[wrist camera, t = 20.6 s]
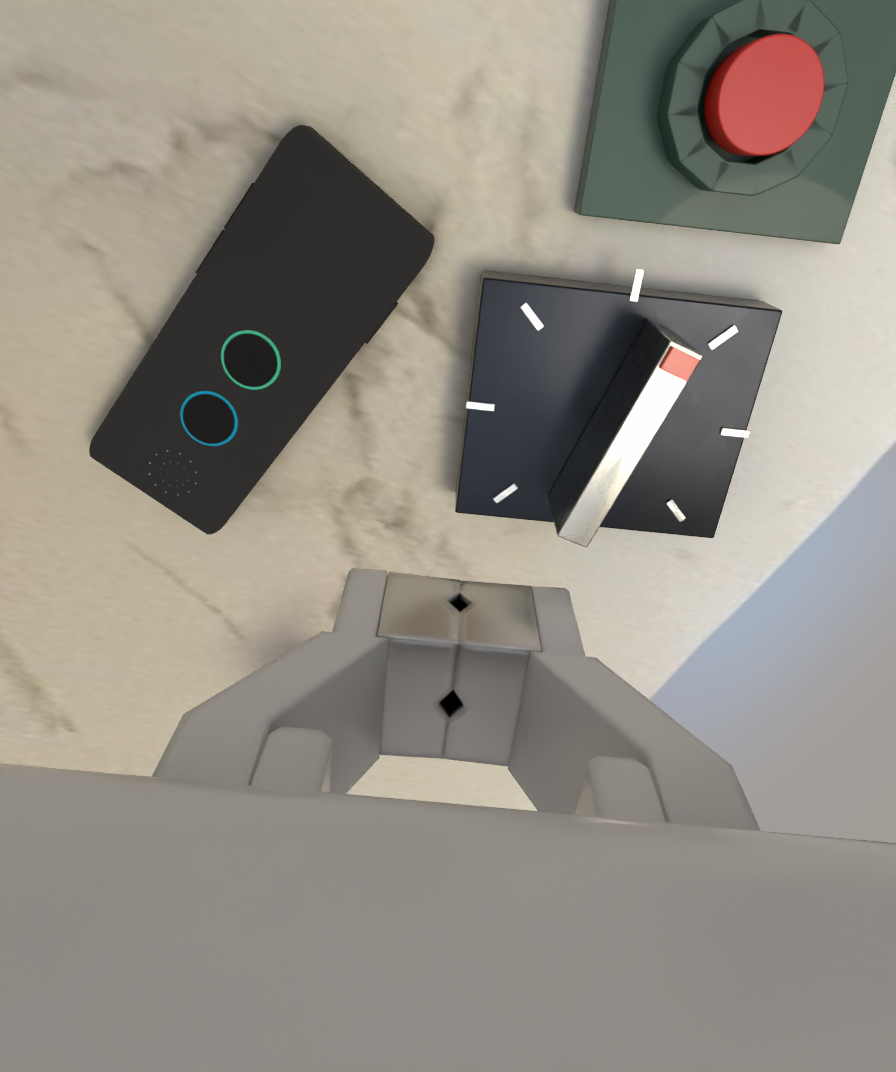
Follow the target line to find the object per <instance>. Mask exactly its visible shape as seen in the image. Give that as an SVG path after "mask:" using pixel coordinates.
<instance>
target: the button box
mask: <svg viewBox="0 0 896 1072" xmlns="http://www.w3.org/2000/svg"><path fill="white" fill-rule="evenodd" d="M773 34H789V35H794V36H796V37H799V38H801V39H802V40H804V41H806V42H807V43H808V44H809V45H810V46H811V47H812V48H813V49H814V50H815V52H816V53H817V55H818V57H819V59H820V61H821V64H822V68H823V72H824V94H823V99H822V103H821V106H820V109H819V111H818V113H817V115H816V118H815V119H814V121H813V123H812V124H811V126H810V127H809V128H808V130H807V131H806V132H805V133H804V134H803V136H802V137H801V138H800V139H798V140H797V141H796V142H795V143H794V144H792V145H791V146H789V147H788V148H786V149H784V150H782V151H780V152H777V153H774V154H770V155H762V156H744V155H736V154H733V153H730V152H728V151H726V150H724V149H723V148H721V147H720V146H719V145H718V144H717V143H716V142H715V141H714V139H713V138H712V136H711V135H710V133H709V131H708V128H707V125H706V121H705V114H704V103H705V96H706V92H707V88H708V85H709V83H710V80H711V78H712V76H713V74H714V72H715V71H716V69H717V68H718V66H719V65H720V64H721V63H722V61H723V60H724V59H725V58H726V57H727V56H728V55H729V54H731V53H732V52H733V51H735V50H736V49H738V48H739V47H741V46H743V45H745V44H748V43H750V42H753V41H755V40H758V39H760V38H763V37H765V36H769V35H773ZM895 73H896V0H610V2H609V8H608V14H607V20H606V26H605V32H604V38H603V44H602V50H601V56H600V62H599V68H598V74H597V80H596V86H595V92H594V98H593V104H592V110H591V116H590V122H589V128H588V134H587V140H586V146H585V152H584V158H583V164H582V170H581V176H580V182H579V188H578V194H577V200H576V206H575V212H576V213H577V214H579V215H585V216H594V217H603V218H612V219H620V220H629V221H638V222H647V223H656V224H665V225H673V226H682V227H691V228H700V229H709V230H718V231H726V232H735V233H744V234H753V235H762V236H770V237H779V238H788V239H797V240H806V241H815V242H823V243H832V244H840V242H841V239H842V236H843V233H844V230H845V227H846V224H847V221H848V218H849V215H850V212H851V209H852V205H853V202H854V199H855V196H856V193H857V190H858V187H859V184H860V181H861V178H862V175H863V172H864V169H865V166H866V162H867V159H868V156H869V153H870V150H871V147H872V144H873V141H874V138H875V135H876V132H877V129H878V126H879V123H880V119H881V116H882V113H883V110H884V107H885V104H886V101H887V98H888V95H889V92H890V89H891V86H892V83H893V80H894V77H895Z"/></svg>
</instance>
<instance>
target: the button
mask: <svg viewBox="0 0 896 1072" xmlns="http://www.w3.org/2000/svg"><path fill="white" fill-rule="evenodd" d="M823 94H824V72H823V68H822V64H821V61H820V59H819V57H818V55H817V53H816V52H815V50H814V49H813V48H812V47H811V46H810V45H809V44H808V43H807V42H806V41H804V40H802V39H801V38H799V37H796V36H794V35H789V34H773V35H769V36H765V37H763V38H760V39H758V40H755V41H753V42H750V43H748V44H745V45H743V46H741V47H739V48H738V49H736V50H735V51H733V52H732V53H731V54H729V55H728V56H727V57H726V58H725V59H724V60H723V61H722V63H721V64H720V65H719V66H718V68H717V69H716V71H715V72H714V74H713V76H712V78H711V80H710V83H709V85H708V88H707V92H706V96H705V103H704V114H705V121H706V125H707V128H708V131H709V133H710V135H711V136H712V138H713V139H714V141H715V142H716V143H717V144H718V145H719V146H720V147H721V148H723V149H724V150H726V151H728V152H730V153H733V154H736V155H744V156H762V155H770V154H774V153H777V152H780V151H782V150H784V149H786V148H788V147H789V146H791V145H792V144H794V143H795V142H796V141H797V140H798V139H800V138H801V137H802V136H803V134H804V133H805V132H806V131H807V130H808V128H809V127H810V126H811V124H812V123H813V121H814V119H815V118H816V115H817V113H818V111H819V109H820V106H821V103H822V99H823Z"/></svg>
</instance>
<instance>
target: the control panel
mask: <svg viewBox="0 0 896 1072" xmlns="http://www.w3.org/2000/svg"><path fill="white" fill-rule="evenodd" d="M643 273H644V270H643V269H636V270H635V275H634V280H633V284H632V287H629V286H620V285H611V284H602V283H593V282H584V281H575V280H566V279H557V278H548V277H539V276H530V275H520V274H511V273H502V272H493V271H482V274H481V282H480V291H479V299H478V308H477V316H476V325H475V333H474V342H473V351H472V359H471V368H470V376H469V385H468V393H467V401H466V410H465V419H464V427H463V436H462V444H461V453H460V461H459V470H458V479H457V487H456V508H455V511H456V512H457V513H467V514H477V515H487V516H497V517H507V518H517V519H527V520H537V521H547V522H554V520H553V516H552V512H551V508H550V504H549V500H548V495H549V493H550V492H551V490H552V488H553V486H554V484H555V483H556V481H557V479H558V477H559V475H560V474H561V472H562V470H563V468H564V467H565V465H566V463H567V461H568V459H569V458H570V456H571V454H572V452H573V450H574V449H575V447H576V445H577V443H578V441H579V440H580V438H581V436H582V434H583V433H584V431H585V429H586V427H587V425H588V424H589V422H590V420H591V418H592V416H593V415H594V413H595V411H596V409H597V407H598V406H599V404H600V402H601V400H602V399H603V397H604V395H605V393H606V391H607V390H608V388H609V386H610V384H611V382H612V381H613V379H614V377H615V375H616V373H617V372H618V370H619V368H620V366H621V365H622V363H623V361H624V359H625V357H626V356H627V354H628V352H629V350H630V348H631V347H632V345H633V343H634V341H635V339H636V338H637V336H638V334H639V332H640V331H641V329H642V327H643V325H644V323H645V322H646V320H647V319H649V320H651V321H653V322H655V323H657V324H659V325H661V326H663V327H665V328H667V329H669V330H671V331H674V332H675V333H677V334H678V335H679V336H680V337H681V338H683V339H684V340H685V341H686V342H688V343H689V344H690V345H691V346H692V347H694V348H695V349H696V350H697V351H698V352H700V353H701V354H702V355H703V357H702V359H701V361H700V362H699V364H698V366H697V367H696V369H695V371H694V372H693V374H692V375H691V377H690V379H689V380H688V382H687V384H686V385H685V387H684V389H683V390H682V392H681V394H680V395H679V397H678V398H677V400H676V402H675V403H674V405H673V407H672V408H671V410H670V412H669V413H668V415H667V417H666V418H665V420H664V422H663V423H662V425H661V426H660V428H659V430H658V431H657V433H656V435H655V436H654V438H653V440H652V441H651V443H650V445H649V446H648V448H647V449H646V451H645V453H644V454H643V456H642V458H641V459H640V461H639V463H638V464H637V466H636V468H635V469H634V471H633V472H632V474H631V476H630V477H629V479H628V481H627V482H626V484H625V486H624V487H623V489H622V491H621V492H620V494H619V496H618V497H617V499H616V500H615V502H614V504H613V505H612V507H611V509H610V510H609V512H608V514H607V515H606V517H605V519H604V520H603V522H602V523H601V525H600V527H607V528H617V529H627V530H637V531H647V532H657V533H667V534H677V535H687V536H697V537H707V538H713V537H714V535H715V531H716V528H717V525H718V522H719V518H720V515H721V512H722V508H723V505H724V502H725V498H726V495H727V492H728V489H729V485H730V482H731V479H732V475H733V472H734V469H735V466H736V462H737V459H738V456H739V452H740V449H741V446H742V443H743V439H744V437H745V438H748V436H749V433H750V431H749V430H746V429H747V426H748V423H749V420H750V416H751V413H752V410H753V406H754V403H755V400H756V397H757V393H758V390H759V387H760V383H761V380H762V377H763V374H764V370H765V367H766V364H767V360H768V357H769V354H770V350H771V347H772V344H773V341H774V337H775V334H776V331H777V327H778V324H779V321H780V318H781V314H782V310H780V309H778V308H776V307H774V306H771V305H769V304H767V303H765V302H763V301H756V300H747V299H738V298H729V297H720V296H711V295H702V294H693V293H683V292H674V291H665V290H656V289H647V288H640V287H641V283H642V278H643Z"/></svg>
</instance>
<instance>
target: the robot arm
mask: <svg viewBox="0 0 896 1072" xmlns="http://www.w3.org/2000/svg"><path fill="white" fill-rule="evenodd" d="M379 755H394V756H410V757H425V758H441V759H450V760H459V761H467V762H476V763H484V764H493V765H501V766H509V767H508V770H509V771H510V773H511V774H512V775H513V777H514V778H515V780H516V781H517V782H518V784H519V785H520V787H521V788H522V789H523V791H524V792H525V794H526V795H527V796H528V798H529V799H530V800H531V802H532V803H533V805H534V806H535V807H536V809H537V810H538V811H528V810H517V809H506V808H495V807H484V806H472V805H461V804H450V803H439V802H428V801H416V800H405V799H394V798H383V797H372V796H360V795H349V794H346V793H347V792H348V791H349V790H350V789H351V788H352V787H353V785H354V784H355V783H356V782H357V781H358V780H359V779H360V778H361V777H362V776H363V775H364V774H365V772H366V771H367V770H368V769H369V768H370V767H371V766H372V765H373V764H374V763H375V762H376V761H377V760H378V758H379ZM0 1072H896V843H888V842H877V841H866V840H854V839H843V838H831V837H821V836H808V835H798V834H786V833H776V832H764V831H760V828H759V826H758V824H757V821H756V819H755V817H754V815H753V812H752V810H751V808H750V806H749V803H748V801H747V799H746V796H745V794H744V792H743V790H742V787H741V785H740V783H739V780H738V778H737V776H736V774H735V771H734V769H733V768H732V765H730V764H729V763H728V762H727V761H725V760H724V759H723V758H722V757H720V756H719V755H718V754H717V753H715V752H714V751H713V750H712V749H710V748H709V747H708V746H706V745H705V744H704V743H703V742H701V741H700V740H699V739H698V738H696V737H695V736H694V735H692V734H691V733H690V732H689V731H688V730H686V729H685V728H684V727H682V726H681V725H680V724H679V723H677V722H676V721H675V720H674V719H672V718H671V717H670V716H669V715H667V714H666V713H665V712H664V711H662V710H661V709H660V708H659V707H657V706H656V705H655V704H653V703H652V702H651V701H650V700H648V699H647V698H646V697H645V696H643V695H642V694H641V693H640V692H638V691H637V690H636V689H635V688H633V687H632V686H631V685H629V684H628V683H627V682H626V681H624V680H623V679H622V678H621V677H619V676H618V675H617V674H616V673H614V672H613V671H612V670H611V669H609V668H608V667H607V666H605V665H604V664H603V663H602V662H600V661H599V660H598V659H597V658H593V657H585V653H584V649H583V645H582V641H581V637H580V633H579V630H578V626H577V622H576V618H575V614H574V610H573V606H572V602H571V598H570V594H569V591H568V590H567V589H565V588H552V587H535V586H525V585H511V584H498V583H485V582H471V581H460V580H455V579H447V578H438V577H430V576H421V575H413V574H404V573H396V572H389V573H387V571H383V570H370V569H358V568H352V569H351V570H350V571H349V573H348V577H347V581H346V584H345V588H344V591H343V595H342V599H341V602H340V606H339V609H338V613H337V617H336V620H335V624H334V627H333V631H332V632H320V633H318V634H317V635H315V636H313V637H312V638H310V639H308V640H307V641H305V642H303V643H302V644H300V645H298V646H297V647H295V648H293V649H292V650H290V651H288V652H287V653H285V654H283V655H282V656H280V657H278V658H277V659H275V660H273V661H272V662H270V663H268V664H267V665H265V666H263V667H262V668H260V669H258V670H257V671H255V672H253V673H252V674H250V675H248V676H247V677H245V678H243V679H242V680H240V681H238V682H237V683H235V684H233V685H232V686H230V687H228V688H227V689H225V690H223V691H222V692H220V693H218V694H217V695H215V696H213V697H212V698H210V699H208V700H206V701H205V702H203V703H201V704H200V705H198V706H196V707H195V708H193V709H191V710H190V711H188V712H186V713H185V714H183V716H182V718H181V720H180V722H179V724H178V726H177V728H176V730H175V732H174V734H173V736H172V738H171V740H170V742H169V744H168V746H167V748H166V750H165V752H164V754H163V756H162V758H161V760H160V761H159V763H158V765H157V767H156V769H155V771H154V773H153V775H152V777H148V776H136V775H125V774H114V773H103V772H92V771H80V770H69V769H58V768H47V767H36V766H24V765H13V764H2V763H0Z"/></svg>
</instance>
